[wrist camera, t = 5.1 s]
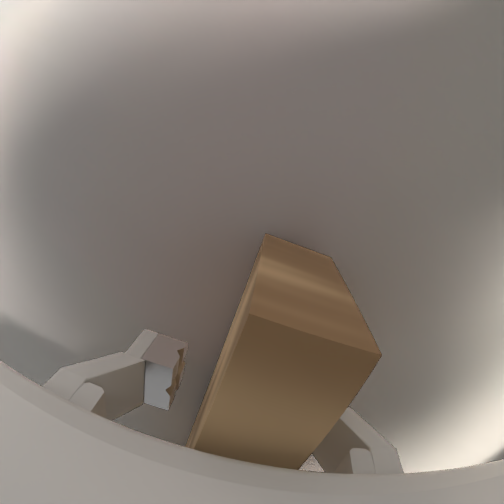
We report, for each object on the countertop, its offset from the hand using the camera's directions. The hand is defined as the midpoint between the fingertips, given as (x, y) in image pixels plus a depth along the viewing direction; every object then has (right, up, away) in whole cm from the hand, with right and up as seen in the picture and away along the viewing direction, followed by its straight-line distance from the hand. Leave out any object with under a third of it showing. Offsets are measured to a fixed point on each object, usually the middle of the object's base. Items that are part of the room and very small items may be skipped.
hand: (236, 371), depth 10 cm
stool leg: (-1, -3, +3) cm, 4 cm away
